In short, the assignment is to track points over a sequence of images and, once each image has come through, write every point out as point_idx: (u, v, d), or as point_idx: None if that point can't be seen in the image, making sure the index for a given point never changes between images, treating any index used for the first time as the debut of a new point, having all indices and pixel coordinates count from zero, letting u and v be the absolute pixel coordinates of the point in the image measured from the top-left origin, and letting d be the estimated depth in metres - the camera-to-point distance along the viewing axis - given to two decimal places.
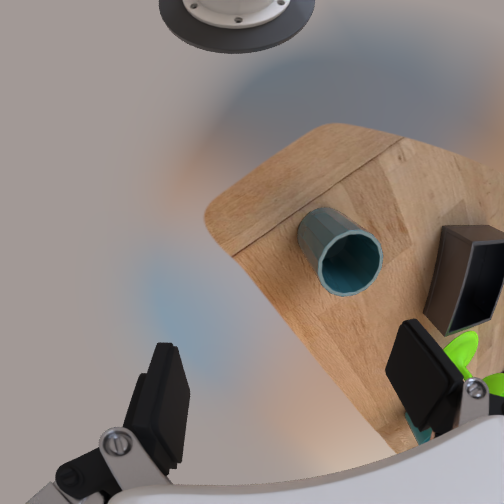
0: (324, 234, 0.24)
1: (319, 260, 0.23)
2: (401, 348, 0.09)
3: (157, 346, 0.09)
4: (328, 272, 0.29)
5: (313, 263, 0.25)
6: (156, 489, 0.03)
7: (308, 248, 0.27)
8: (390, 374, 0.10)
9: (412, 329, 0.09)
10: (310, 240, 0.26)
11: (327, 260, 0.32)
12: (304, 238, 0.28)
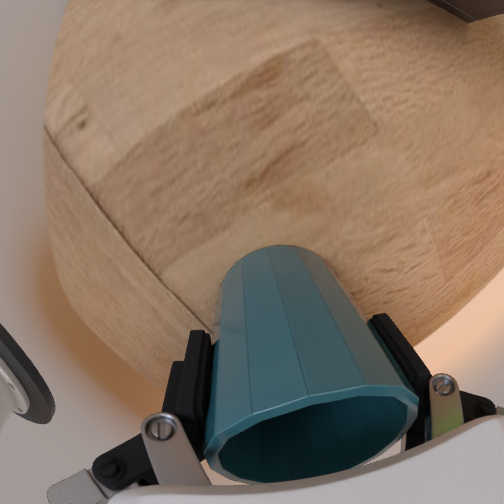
0: None
1: None
2: None
3: (191, 334, 0.10)
4: None
5: None
6: (156, 489, 0.03)
7: None
8: None
9: (381, 323, 0.10)
10: None
11: None
12: None
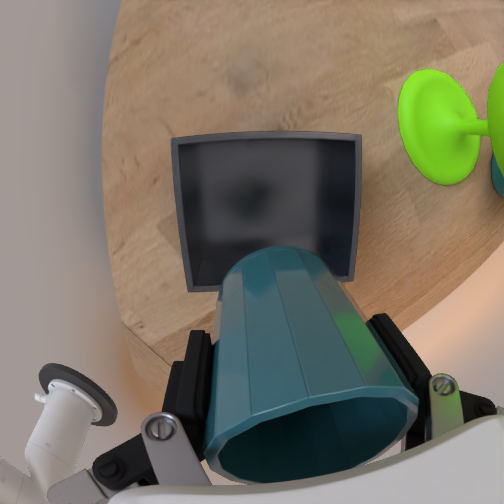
0: None
1: None
2: None
3: (191, 333, 0.10)
4: None
5: None
6: (156, 489, 0.03)
7: None
8: None
9: (381, 323, 0.10)
10: None
11: None
12: None
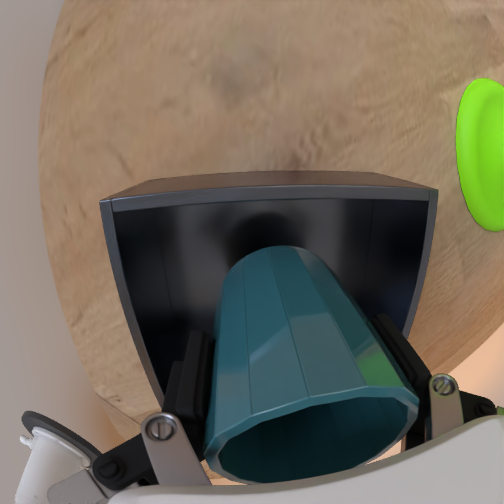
0: None
1: None
2: None
3: (191, 333, 0.10)
4: None
5: None
6: (156, 488, 0.03)
7: None
8: None
9: (381, 323, 0.10)
10: None
11: None
12: None
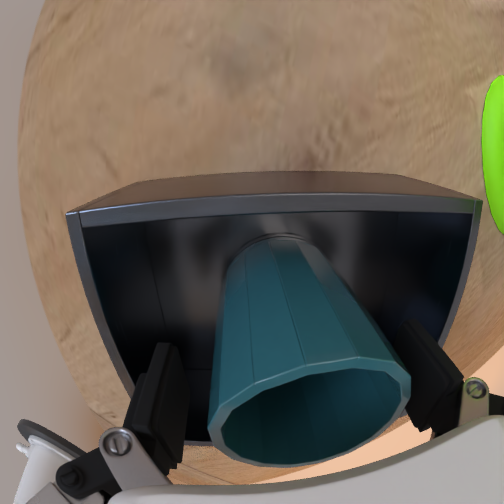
0: None
1: (288, 467, 0.08)
2: (401, 348, 0.09)
3: (157, 346, 0.09)
4: None
5: None
6: (155, 488, 0.03)
7: None
8: None
9: (412, 329, 0.09)
10: None
11: None
12: None
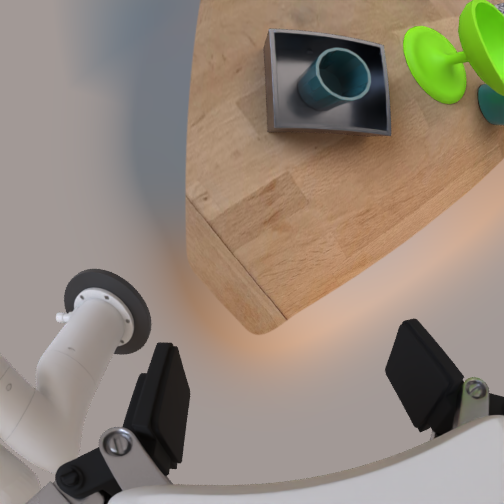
0: (320, 92, 0.26)
1: (340, 98, 0.24)
2: (401, 348, 0.09)
3: (157, 346, 0.09)
4: (352, 88, 0.28)
5: (343, 102, 0.26)
6: (156, 488, 0.03)
7: (332, 104, 0.28)
8: (390, 374, 0.10)
9: (412, 329, 0.09)
10: (325, 102, 0.28)
11: (343, 87, 0.30)
12: (324, 105, 0.29)
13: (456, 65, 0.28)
